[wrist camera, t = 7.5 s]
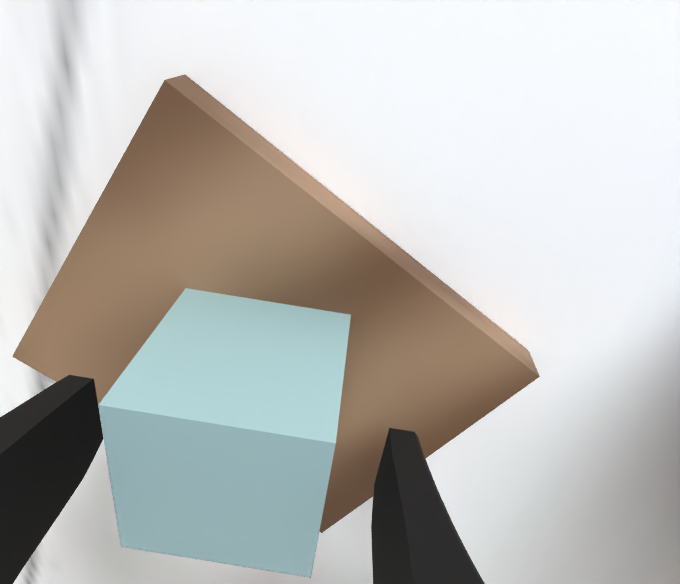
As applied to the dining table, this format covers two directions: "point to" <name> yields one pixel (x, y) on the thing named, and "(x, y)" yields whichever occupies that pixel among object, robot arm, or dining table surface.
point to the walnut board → (269, 284)
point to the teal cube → (228, 431)
